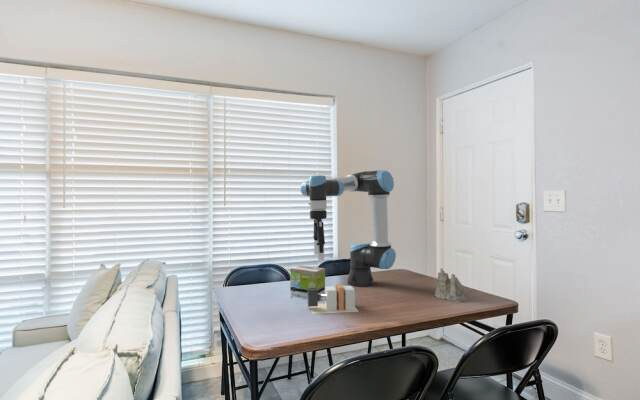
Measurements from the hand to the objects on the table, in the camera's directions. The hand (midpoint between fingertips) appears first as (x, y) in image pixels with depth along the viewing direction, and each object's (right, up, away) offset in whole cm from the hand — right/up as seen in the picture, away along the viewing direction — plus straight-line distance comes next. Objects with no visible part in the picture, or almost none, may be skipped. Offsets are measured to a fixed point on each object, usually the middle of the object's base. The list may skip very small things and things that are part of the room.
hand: (319, 257), depth 160 cm
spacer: (+9, -22, -3) cm, 24 cm away
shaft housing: (+6, -23, -3) cm, 24 cm away
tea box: (-6, -23, +18) cm, 30 cm away
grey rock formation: (+67, -23, +19) cm, 73 cm away
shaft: (+4, -20, -4) cm, 21 cm away
